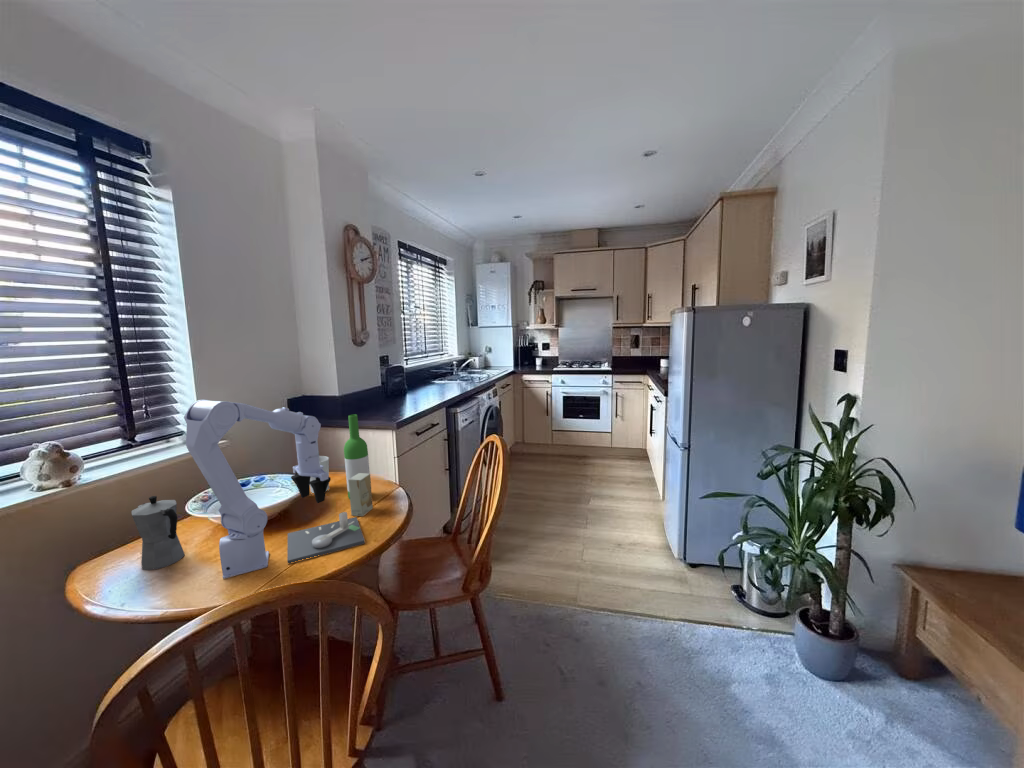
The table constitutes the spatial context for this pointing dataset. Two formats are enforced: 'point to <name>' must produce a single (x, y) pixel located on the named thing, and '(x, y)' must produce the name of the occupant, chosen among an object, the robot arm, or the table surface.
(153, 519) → the coffeepot
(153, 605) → the table surface
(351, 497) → the skincare box
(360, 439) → the wine bottle
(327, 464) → the cup
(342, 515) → the tuning lever
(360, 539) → the gauge board
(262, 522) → the robot arm
